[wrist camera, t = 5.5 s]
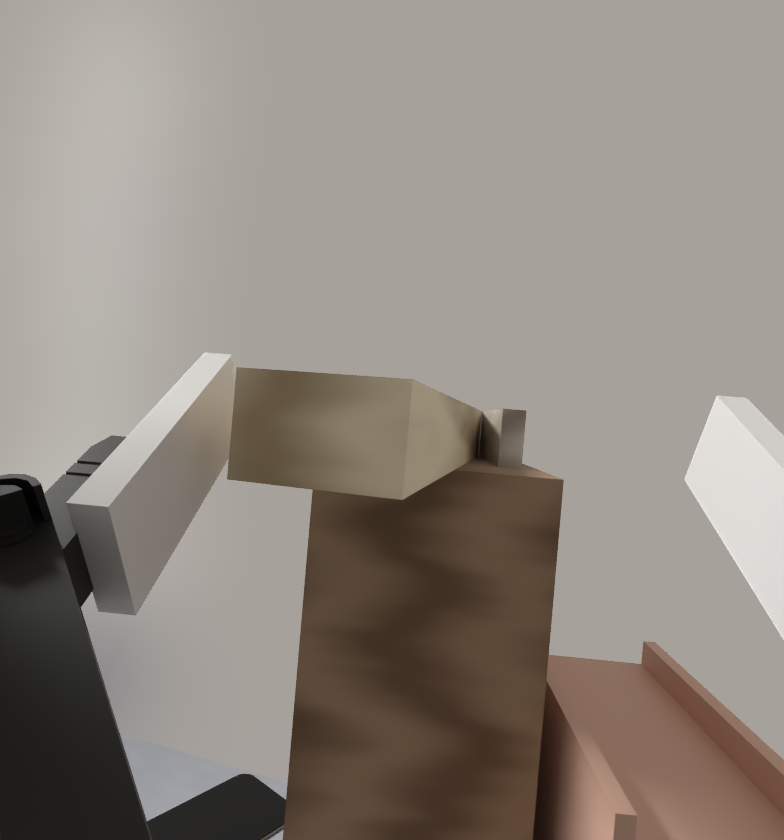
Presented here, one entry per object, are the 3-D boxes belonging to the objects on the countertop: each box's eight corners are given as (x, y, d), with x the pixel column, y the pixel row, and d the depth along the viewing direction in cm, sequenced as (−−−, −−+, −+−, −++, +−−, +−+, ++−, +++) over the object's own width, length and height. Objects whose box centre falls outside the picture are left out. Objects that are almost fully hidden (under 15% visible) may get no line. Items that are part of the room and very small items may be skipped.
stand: (245, 1274, 21) (321, 389, 21) (313, 930, 35) (358, 402, 35) (492, 1309, 20) (569, 410, 20) (459, 948, 34) (505, 414, 34)
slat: (227, 479, 13) (236, 366, 13) (408, 449, 33) (412, 406, 33) (402, 499, 12) (412, 379, 12) (478, 456, 32) (482, 411, 32)
